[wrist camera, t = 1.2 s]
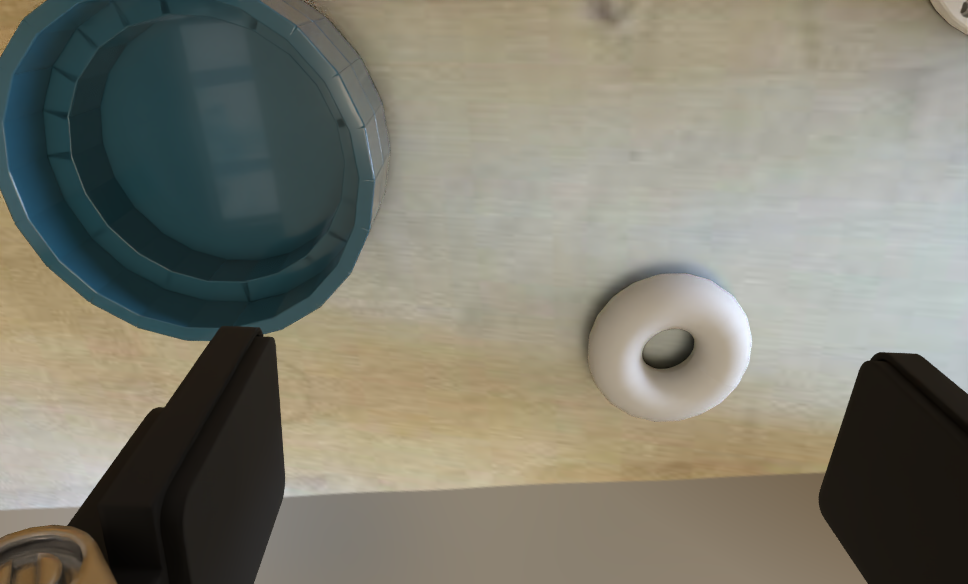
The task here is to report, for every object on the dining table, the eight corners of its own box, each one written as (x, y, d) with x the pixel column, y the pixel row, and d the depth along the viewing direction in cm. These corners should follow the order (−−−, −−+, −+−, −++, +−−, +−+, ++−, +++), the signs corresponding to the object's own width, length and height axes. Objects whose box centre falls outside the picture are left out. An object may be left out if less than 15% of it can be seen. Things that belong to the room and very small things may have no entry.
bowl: (144, -111, 34) (67, -129, 27) (451, 100, 38) (446, 126, 32) (22, 182, 40) (-65, 223, 33) (299, 335, 44) (270, 397, 38)
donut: (600, 254, 42) (570, 394, 46) (610, 276, 39) (577, 425, 43) (759, 273, 43) (717, 410, 47) (782, 296, 39) (734, 441, 43)
